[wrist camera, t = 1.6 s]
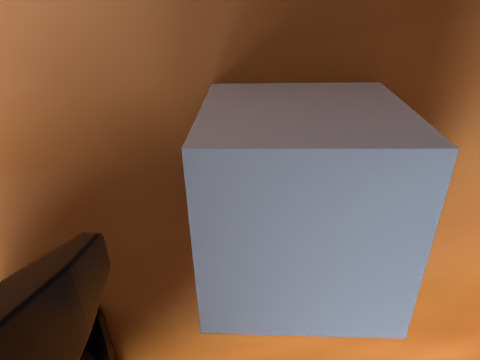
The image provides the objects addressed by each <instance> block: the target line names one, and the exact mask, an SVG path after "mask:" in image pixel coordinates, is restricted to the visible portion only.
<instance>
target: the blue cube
mask: <svg viewBox="0 0 480 360" xmlns="http://www.w3.org/2000/svg"><path fill="white" fill-rule="evenodd" d="M181 150H182V160H183V169H184V179H185V188H186V198H187V207H188V217H189V227H190V236H191V246H192V255H193V265H194V274H195V284H196V293H197V303H198V312H199V322H200V331H201V333H213V334H251V335H289V336H327V337H366V338H404V339H406V335H407V332H408V328H409V325H410V321H411V317H412V314H413V310H414V307H415V303H416V300H417V296H418V293H419V289H420V286H421V282H422V279H423V275H424V272H425V268H426V265H427V261H428V258H429V254H430V251H431V247H432V243H433V240H434V236H435V233H436V229H437V226H438V222H439V219H440V215H441V212H442V208H443V205H444V201H445V198H446V194H447V191H448V187H449V184H450V180H451V177H452V173H453V169H454V166H455V162H456V159H457V155H458V152H459V148H458V147H457V146H456V145H454V144H453V143H452V142H451V141H450V140H448V139H447V138H446V137H445V136H444V135H443V134H441V133H440V132H439V131H438V130H437V129H435V128H434V127H433V126H432V125H431V124H430V123H428V122H427V121H426V120H425V119H424V118H422V117H421V116H420V115H419V114H418V113H416V112H415V111H414V110H413V109H412V108H411V107H409V106H408V105H407V104H406V103H405V102H403V101H402V100H401V99H400V98H399V97H398V96H396V95H395V94H394V93H393V92H392V91H390V90H389V89H388V88H387V87H386V86H385V85H383V84H382V83H381V82H333V83H222V84H211V86H210V89H209V91H208V93H207V95H206V97H205V99H204V101H203V104H202V106H201V108H200V110H199V112H198V114H197V116H196V119H195V121H194V123H193V125H192V127H191V129H190V131H189V133H188V136H187V138H186V140H185V142H184V144H183V146H182V148H181Z"/></svg>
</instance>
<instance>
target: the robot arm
mask: <svg viewBox="0 0 480 360" xmlns="http://www.w3.org/2000/svg"><path fill="white" fill-rule="evenodd" d="M109 268H110V261H109V257H108V253H107V248H106V244H105V240H104V237H103V235H102V234H101V233H93V232H84V233H81V234H79V235H78V236H76V237H74V238H73V239H71V240H69V241H68V242H66V243H64V244H63V245H61V246H59V247H58V248H56V249H54V250H52V251H51V252H49V253H47V254H46V255H44V256H42V257H41V258H39V259H37V260H36V261H34V262H32V263H31V264H29V265H27V266H25V267H24V268H22V269H20V270H19V271H17V272H15V273H14V274H12V275H10V276H9V277H7V278H5V279H4V280H2V281H0V360H116V359H115V355H114V352H113V348H112V344H111V341H110V337H109V334H108V330H107V327H106V323H105V320H104V316H103V313H102V311H101V310H100V309H99V308H98V306H99V303H100V300H101V296H102V293H103V290H104V286H105V283H106V280H107V276H108V273H109Z"/></svg>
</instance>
